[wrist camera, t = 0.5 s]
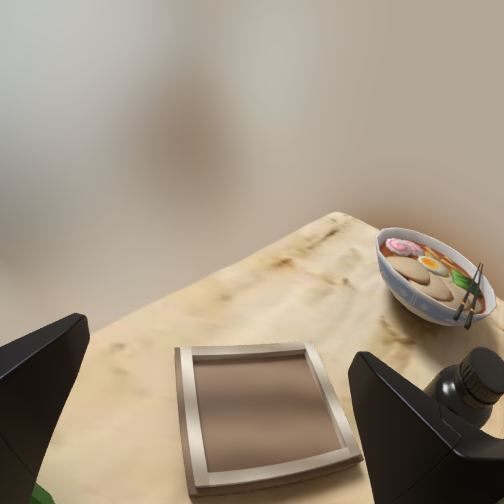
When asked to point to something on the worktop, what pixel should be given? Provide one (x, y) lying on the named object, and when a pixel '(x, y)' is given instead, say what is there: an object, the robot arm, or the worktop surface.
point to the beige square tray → (258, 418)
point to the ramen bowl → (433, 278)
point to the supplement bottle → (470, 386)
